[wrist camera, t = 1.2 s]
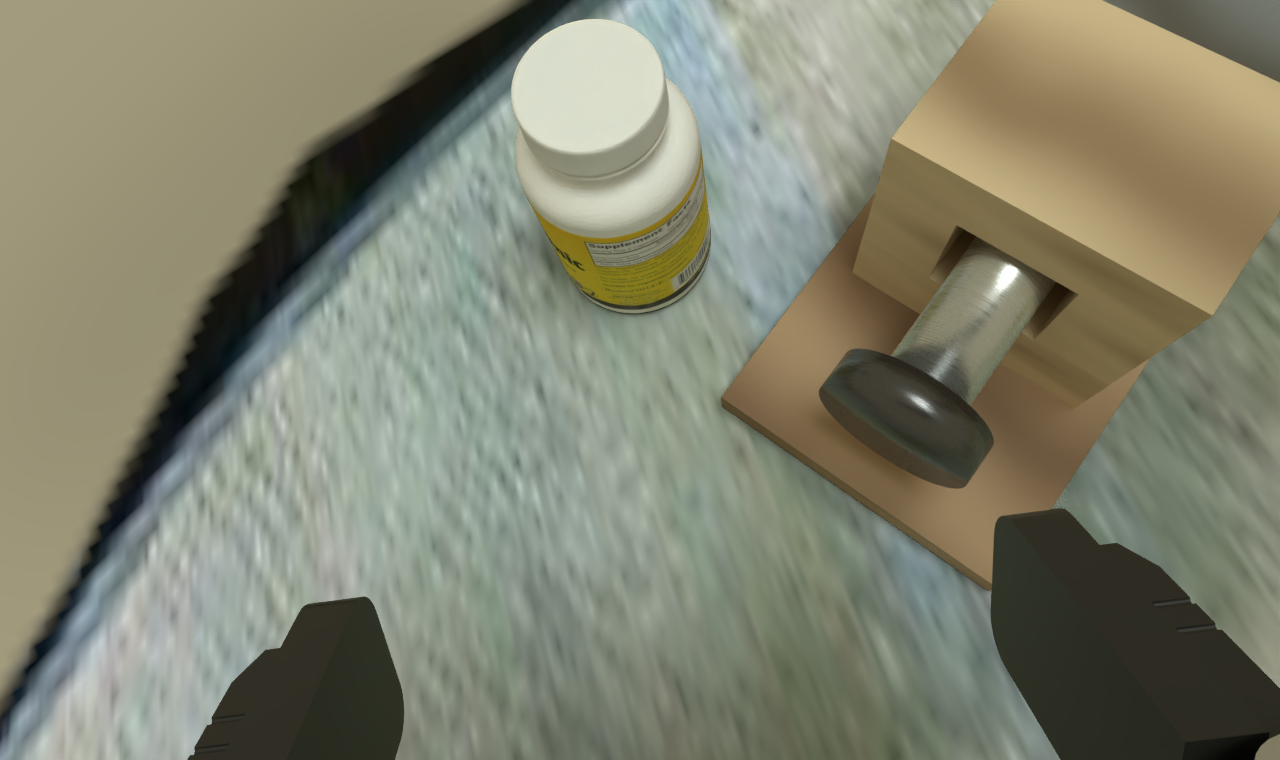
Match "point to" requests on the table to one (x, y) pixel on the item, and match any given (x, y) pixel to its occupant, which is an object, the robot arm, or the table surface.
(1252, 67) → the shaft bench
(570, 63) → the supplement bottle
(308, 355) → the table surface
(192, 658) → the table surface
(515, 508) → the table surface
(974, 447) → the shaft
